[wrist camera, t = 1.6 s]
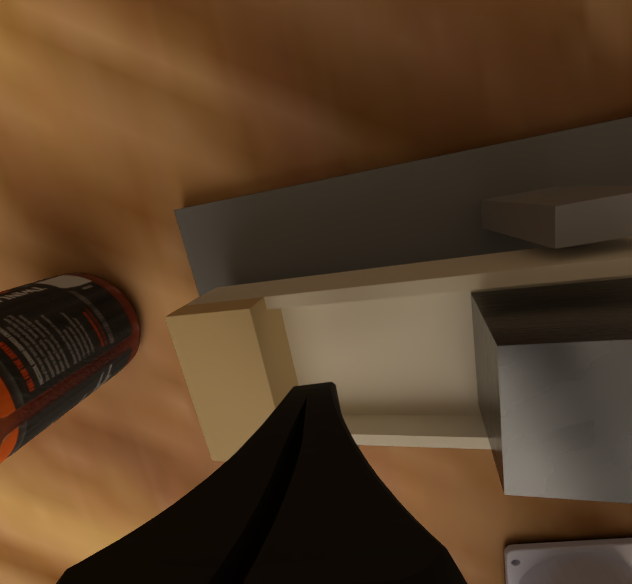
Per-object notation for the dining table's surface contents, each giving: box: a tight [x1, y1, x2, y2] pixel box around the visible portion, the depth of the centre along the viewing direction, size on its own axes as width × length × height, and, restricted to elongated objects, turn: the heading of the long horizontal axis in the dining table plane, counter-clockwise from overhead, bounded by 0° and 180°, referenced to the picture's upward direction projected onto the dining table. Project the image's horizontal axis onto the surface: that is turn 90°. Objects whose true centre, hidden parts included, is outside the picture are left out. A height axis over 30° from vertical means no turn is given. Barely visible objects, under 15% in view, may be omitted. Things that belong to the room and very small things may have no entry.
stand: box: [174, 117, 632, 296], centre depth 14 cm, size 14×30×6 cm, turn 101°
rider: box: [471, 278, 632, 503], centre depth 10 cm, size 4×5×4 cm
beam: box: [165, 236, 632, 462], centre depth 11 cm, size 7×28×4 cm, turn 101°
